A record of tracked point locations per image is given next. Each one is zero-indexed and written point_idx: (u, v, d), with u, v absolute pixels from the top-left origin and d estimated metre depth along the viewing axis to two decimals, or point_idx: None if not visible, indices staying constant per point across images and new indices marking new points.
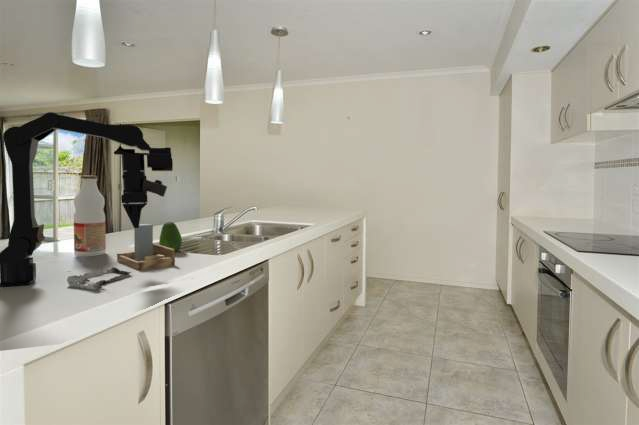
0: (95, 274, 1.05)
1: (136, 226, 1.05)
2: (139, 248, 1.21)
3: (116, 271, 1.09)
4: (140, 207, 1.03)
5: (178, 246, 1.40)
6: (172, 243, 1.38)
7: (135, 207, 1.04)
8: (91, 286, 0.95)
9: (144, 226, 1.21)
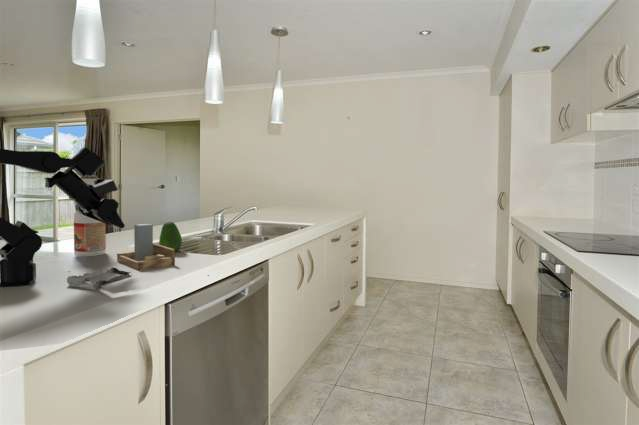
0: (95, 274, 1.05)
1: (123, 226, 1.13)
2: (139, 248, 1.21)
3: (116, 271, 1.09)
4: (115, 211, 1.09)
5: (178, 246, 1.40)
6: (172, 243, 1.38)
7: (110, 214, 1.09)
8: (91, 286, 0.95)
9: (144, 226, 1.21)
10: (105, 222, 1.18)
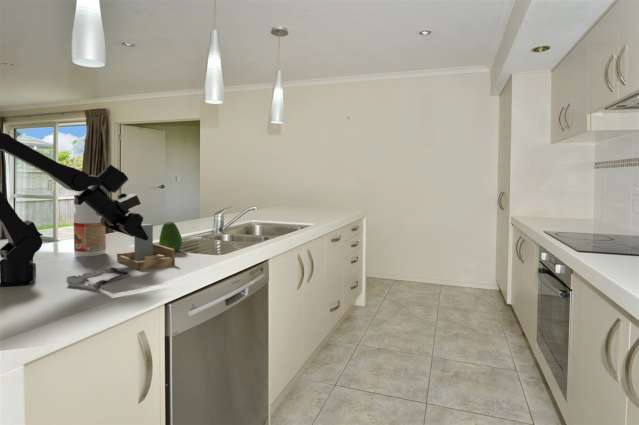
0: (94, 274, 1.05)
1: (146, 238, 1.19)
2: (139, 248, 1.21)
3: (115, 271, 1.09)
4: (139, 224, 1.15)
5: (178, 246, 1.40)
6: (172, 243, 1.38)
7: (135, 227, 1.15)
8: (91, 286, 0.95)
9: (144, 226, 1.21)
10: (129, 234, 1.24)
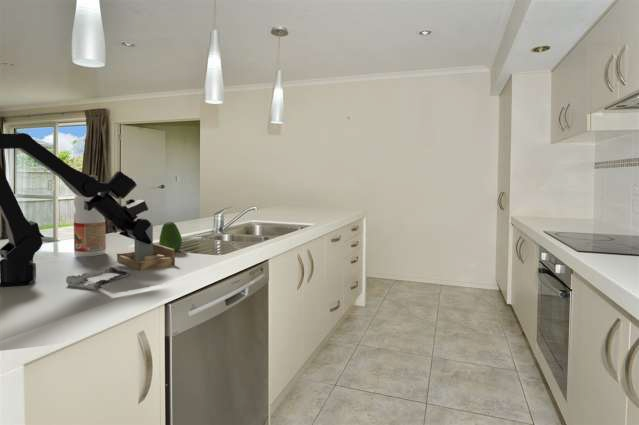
0: (93, 274, 1.05)
1: (149, 242, 1.23)
2: (139, 248, 1.21)
3: (114, 271, 1.09)
4: None
5: (178, 246, 1.40)
6: (172, 243, 1.38)
7: None
8: (91, 286, 0.96)
9: None
10: None
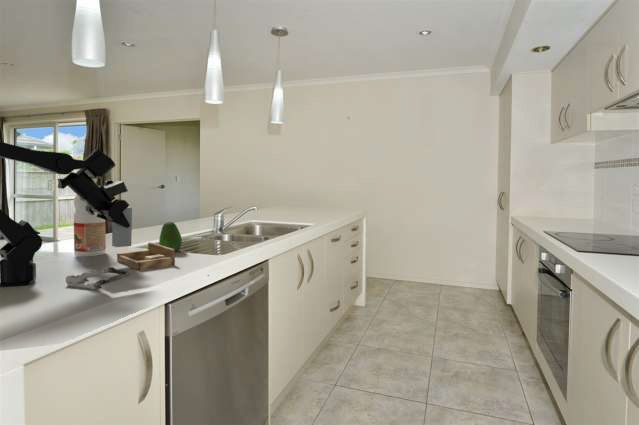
0: (92, 274, 1.05)
1: (128, 225, 1.17)
2: (117, 231, 1.15)
3: (113, 271, 1.09)
4: None
5: (178, 246, 1.40)
6: (172, 243, 1.38)
7: None
8: (91, 285, 0.96)
9: None
10: None
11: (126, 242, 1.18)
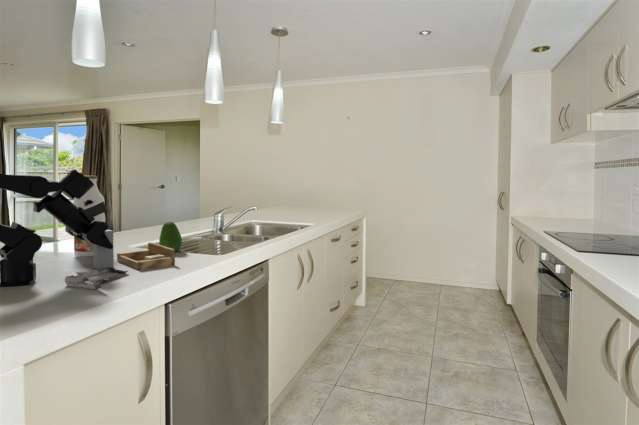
0: (91, 274, 1.05)
1: (111, 247, 1.13)
2: (98, 256, 1.12)
3: (112, 270, 1.09)
4: (102, 232, 1.09)
5: (178, 246, 1.40)
6: (172, 243, 1.38)
7: None
8: (91, 285, 0.96)
9: None
10: None
11: (108, 266, 1.14)
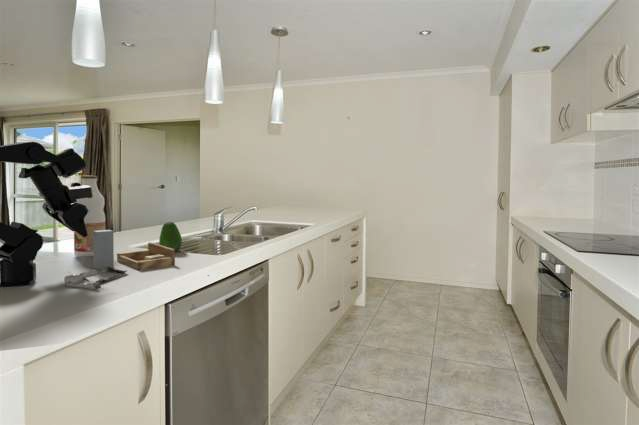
0: (90, 273, 1.05)
1: (85, 235, 1.08)
2: (98, 256, 1.12)
3: (111, 270, 1.09)
4: (82, 218, 1.05)
5: (178, 246, 1.40)
6: (172, 243, 1.38)
7: (76, 219, 1.05)
8: (91, 285, 0.96)
9: (103, 232, 1.12)
10: (68, 227, 1.13)
11: (108, 266, 1.14)
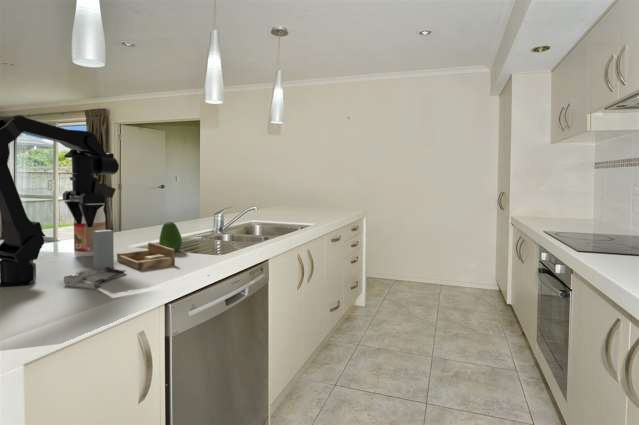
0: (89, 274, 1.05)
1: (90, 225, 1.13)
2: (98, 256, 1.12)
3: (109, 270, 1.09)
4: (96, 208, 1.12)
5: (178, 246, 1.40)
6: (172, 243, 1.38)
7: (91, 208, 1.12)
8: (91, 285, 0.96)
9: (103, 232, 1.12)
10: (76, 218, 1.18)
11: (108, 266, 1.14)
